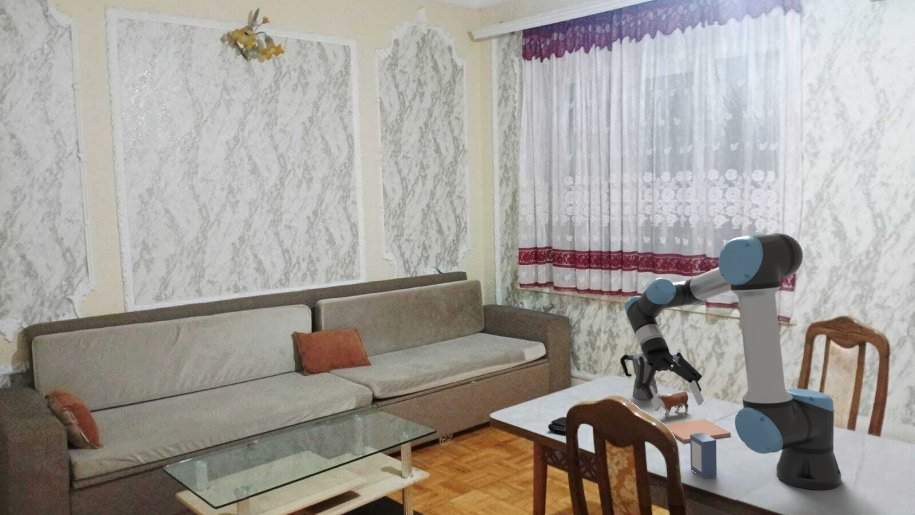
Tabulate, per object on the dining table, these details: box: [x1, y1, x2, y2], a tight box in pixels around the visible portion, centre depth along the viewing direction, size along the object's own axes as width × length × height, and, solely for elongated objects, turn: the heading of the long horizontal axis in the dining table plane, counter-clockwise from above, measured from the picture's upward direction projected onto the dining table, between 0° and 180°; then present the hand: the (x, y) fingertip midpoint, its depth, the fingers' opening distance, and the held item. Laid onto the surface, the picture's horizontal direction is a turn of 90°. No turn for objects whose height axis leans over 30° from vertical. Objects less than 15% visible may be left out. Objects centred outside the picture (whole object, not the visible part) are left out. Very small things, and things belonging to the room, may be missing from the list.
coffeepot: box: [619, 352, 659, 401], centre depth 257 cm, size 15×9×18 cm, turn 75°
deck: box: [689, 433, 718, 479], centre depth 188 cm, size 6×4×10 cm
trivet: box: [665, 418, 732, 444], centre depth 219 cm, size 14×16×1 cm
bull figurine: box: [656, 391, 689, 418], centre depth 236 cm, size 4×13×8 cm, turn 107°
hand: (679, 405), depth 198 cm, fingers open, 13 cm apart
